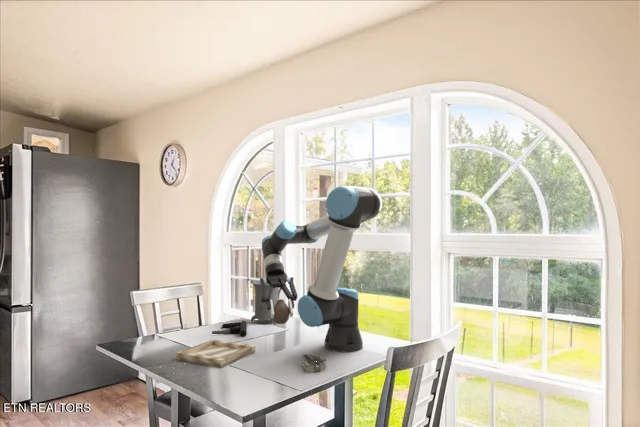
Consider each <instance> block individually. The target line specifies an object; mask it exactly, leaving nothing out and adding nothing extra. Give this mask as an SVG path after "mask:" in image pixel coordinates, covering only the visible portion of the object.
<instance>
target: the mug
mask: <svg viewBox="0 0 640 427" xmlns="http://www.w3.org/2000/svg"><path fill="white" fill-rule="evenodd" d="M285 276H286V277H287V278H289V277H288V274H287V273H286V272H285ZM286 283H288V282H287V281H286V282H285V284H286ZM252 285H253V286H254V315H252V317H251V318H250V321H251V322H250V323H253V321H254V320H261V321H268V320H269V321H271V322H272V324H273V325H274V326H276V325H277V324H276V323H275V322H274V321H273V320H272V318H271V312H270V310H268V309H267V304H266V302H261V286H260V280H259V281H254V282H252ZM269 289H270V285H269V284H268V283H267V282H266V283H265V297H266V298H267V296H268V293H269ZM281 292H282V290H281V288H279V287H276V288H273V290H272V294H271V298H270V300H272V302H273V306H274V305H275V304H276V302H277V300H279V299H280V295H281Z"/></svg>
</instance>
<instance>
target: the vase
mask: <svg viewBox="0 0 640 427" xmlns="http://www.w3.org/2000/svg"><path fill="white" fill-rule="evenodd" d="M273 308H274V318H272V320H273V321H274V322H275V323H276V325H283V324H286V323H288V321H289V319H290V313H289V307H288V304H287V303H286V302H285V300H284V299H280V298H279V299H278V300H277V302H276V304H275V305H274V306H273Z"/></svg>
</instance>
